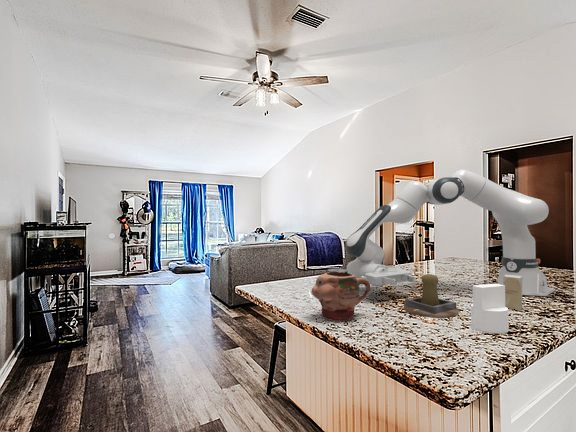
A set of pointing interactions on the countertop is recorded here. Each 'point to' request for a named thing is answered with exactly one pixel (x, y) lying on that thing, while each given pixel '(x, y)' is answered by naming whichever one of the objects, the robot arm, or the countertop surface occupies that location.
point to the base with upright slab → (489, 309)
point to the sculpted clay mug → (339, 294)
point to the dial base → (431, 308)
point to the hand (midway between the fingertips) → (404, 280)
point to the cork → (430, 290)
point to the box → (513, 291)
